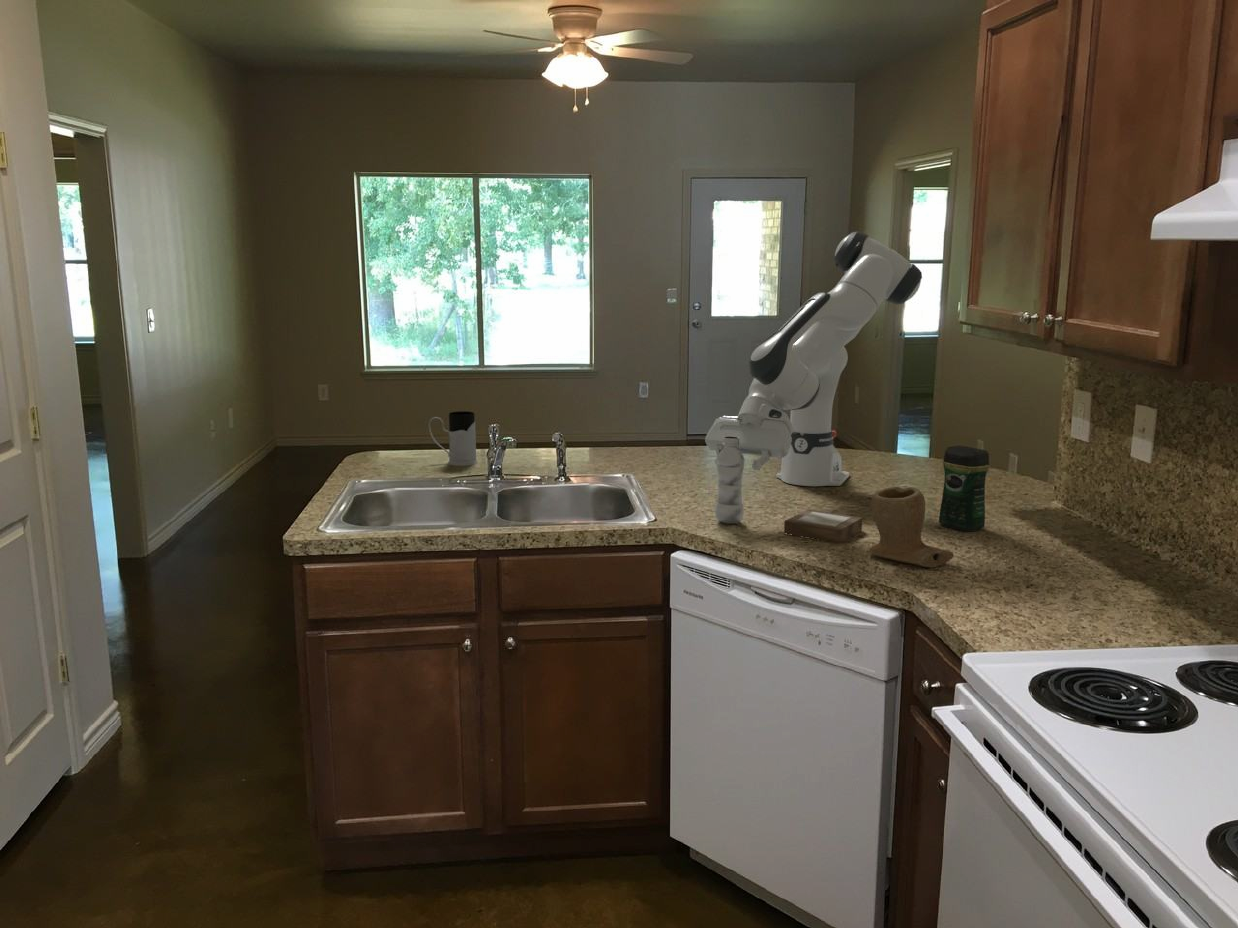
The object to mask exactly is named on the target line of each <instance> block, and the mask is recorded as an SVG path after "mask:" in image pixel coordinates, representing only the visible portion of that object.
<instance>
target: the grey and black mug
mask: <svg viewBox="0 0 1238 928" xmlns="http://www.w3.org/2000/svg"><path fill="white" fill-rule="evenodd" d="M475 416H476V415H475V412H473V411H464V410H463V411H462V410H460V411H451V412H448V427H449V428H448V429H449V430H446V428H445V423H444V421H443V419H442V418H440V417H438V416H434V417H432V418H430V420H429V423H428V431H429V433H430V436H431V439H432V440H433V442H434V443H435V444H436V445H437V446H438V447H439V448H441V449H442V450H443V451H444V452H446V453H447V455H448V458H449V460H448V462H447V463H448V465H451V466H457V467H458V466H459V467H461V466H462V467H463V466H465V467H467V466H473V465H477V464H478V463H479V462H478V460H477V445H476V443H477V442H476V440H477V439H476V438H477V437H476V436H477V435H476V434H477V433H476V420H475ZM435 419H438V420H439V421H440V422H441V424H442V430H443V431H444V432H446V433H448V448H449V450H447V449H446V448H444V447H443V446H442V445H440V444H439V442H438V441H437V440H436V439H435V437H434V436H433V433H432V429H431V422H432V420H435Z"/></svg>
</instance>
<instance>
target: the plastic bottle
mask: <svg viewBox="0 0 1238 928" xmlns="http://www.w3.org/2000/svg"><path fill="white" fill-rule="evenodd" d="M723 446H724V448H723V449H722V450H721V452H720V453H719V455H718V457H717V456H716V458H717V465H716V469H717V477H718V478H717V479H718V482H717V484H718V486H717V487H718V490H717V491H718V492H717V500H716V503H715V504H716V505H715V511H714V513H715V518H716V519H717V521H718V522H719V523H723V524H731V525H732V524H739V523H741V521H742V520H743V518H744V505H743V498H742V497H743V496H742V495H743V494H742V492H743V491H742V484H743V474H744V469H745V462H746V461H745V457H744V454H742V453H741V452H740V450H739V449H738V446H740V444H739V437H735V436H726V437H724V438H723Z"/></svg>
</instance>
